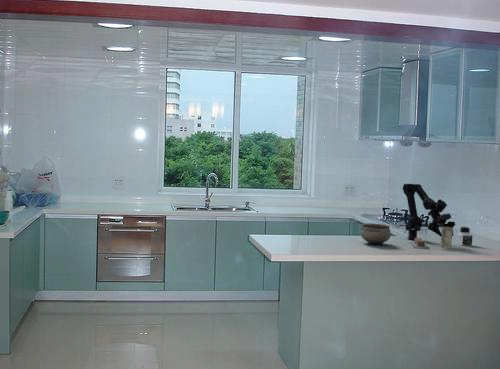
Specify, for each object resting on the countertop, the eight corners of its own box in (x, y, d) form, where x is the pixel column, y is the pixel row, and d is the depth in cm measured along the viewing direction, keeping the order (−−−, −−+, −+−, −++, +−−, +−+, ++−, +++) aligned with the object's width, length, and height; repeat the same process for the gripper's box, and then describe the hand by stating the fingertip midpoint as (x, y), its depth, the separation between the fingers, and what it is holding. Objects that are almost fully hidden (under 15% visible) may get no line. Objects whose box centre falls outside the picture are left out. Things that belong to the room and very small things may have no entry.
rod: (440, 247, 386) (442, 226, 385) (446, 246, 387) (447, 226, 386) (445, 248, 381) (446, 227, 381) (451, 248, 383) (452, 227, 382)
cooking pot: (350, 242, 390) (351, 223, 389) (369, 240, 402) (370, 222, 401) (381, 248, 370) (382, 228, 370) (400, 245, 383) (401, 226, 382)
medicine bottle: (462, 245, 395) (463, 227, 394) (456, 244, 402) (457, 226, 401) (472, 245, 397) (473, 227, 396) (465, 244, 404) (467, 226, 403)
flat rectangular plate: (409, 243, 396) (410, 237, 396) (423, 244, 395) (424, 238, 395) (413, 248, 376) (414, 241, 376) (428, 248, 375) (429, 242, 375)
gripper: (431, 209, 384) (442, 228, 374) (454, 209, 391) (465, 228, 381) (422, 219, 392) (432, 239, 382) (445, 219, 399) (456, 238, 389)
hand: (447, 235), depth 383 cm, fingers open, 9 cm apart
